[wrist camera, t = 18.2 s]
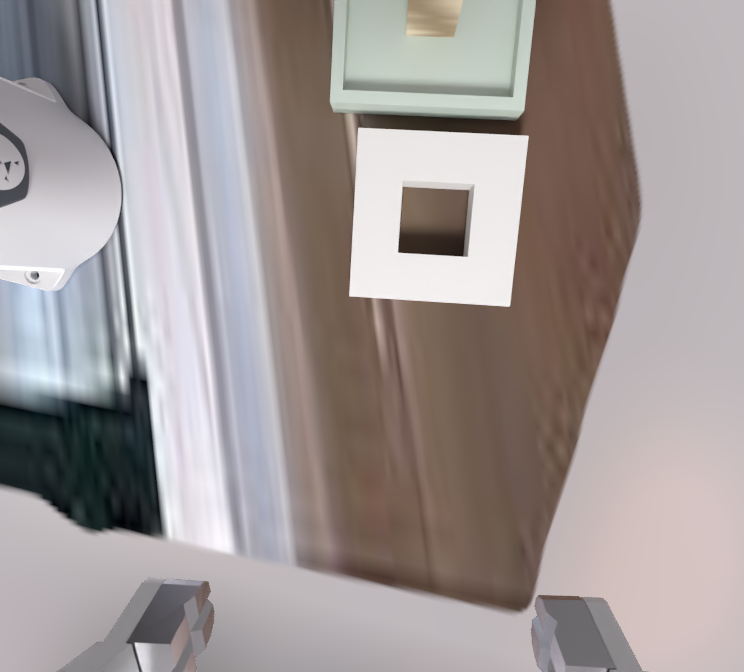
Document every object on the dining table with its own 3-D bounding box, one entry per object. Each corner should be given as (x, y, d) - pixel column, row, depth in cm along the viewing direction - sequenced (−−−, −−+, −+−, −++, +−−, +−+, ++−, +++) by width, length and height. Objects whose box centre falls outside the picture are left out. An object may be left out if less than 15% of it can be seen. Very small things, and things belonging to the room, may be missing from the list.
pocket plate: (352, 294, 39) (349, 296, 37) (360, 137, 37) (358, 127, 35) (502, 304, 39) (509, 306, 36) (519, 145, 37) (528, 135, 34)
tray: (333, 112, 37) (330, 102, 35) (342, -94, 35) (339, -118, 33) (516, 120, 36) (524, 110, 34) (538, -89, 34) (548, -113, 32)
